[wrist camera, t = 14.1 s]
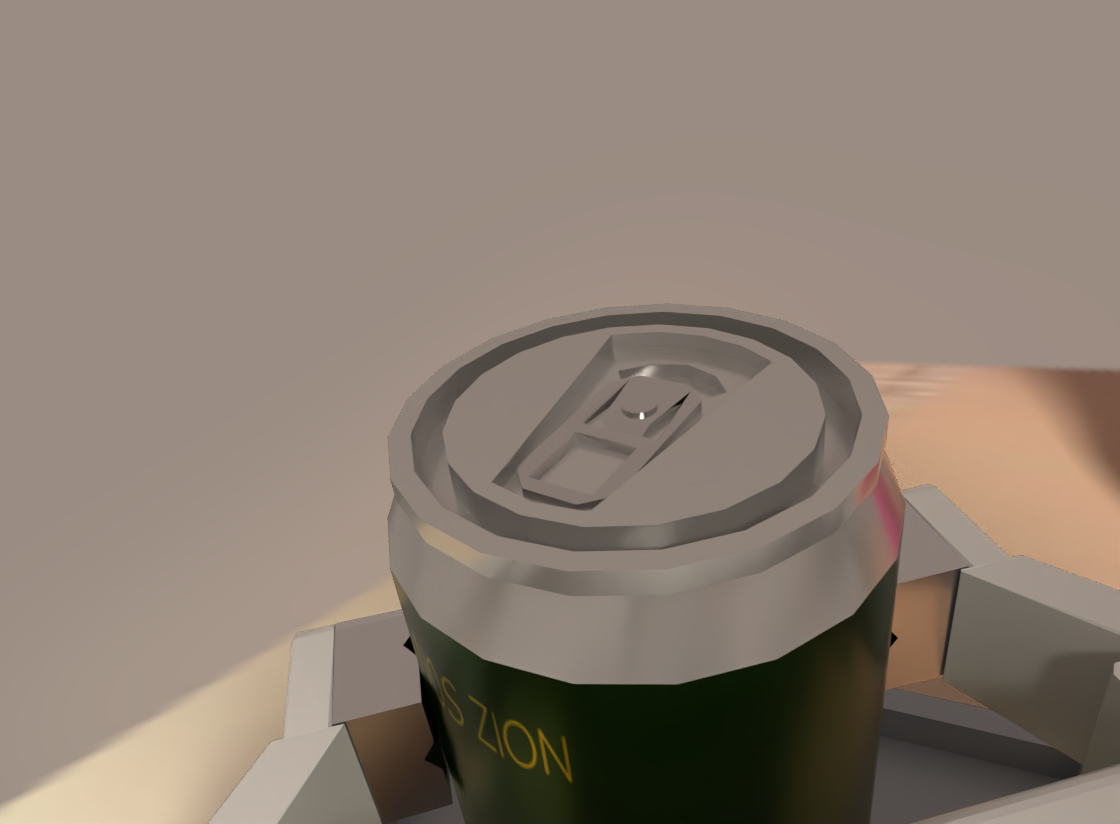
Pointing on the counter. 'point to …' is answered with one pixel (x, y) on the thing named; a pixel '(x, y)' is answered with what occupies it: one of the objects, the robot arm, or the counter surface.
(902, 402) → the counter surface
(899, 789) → the tray
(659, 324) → the beer can
